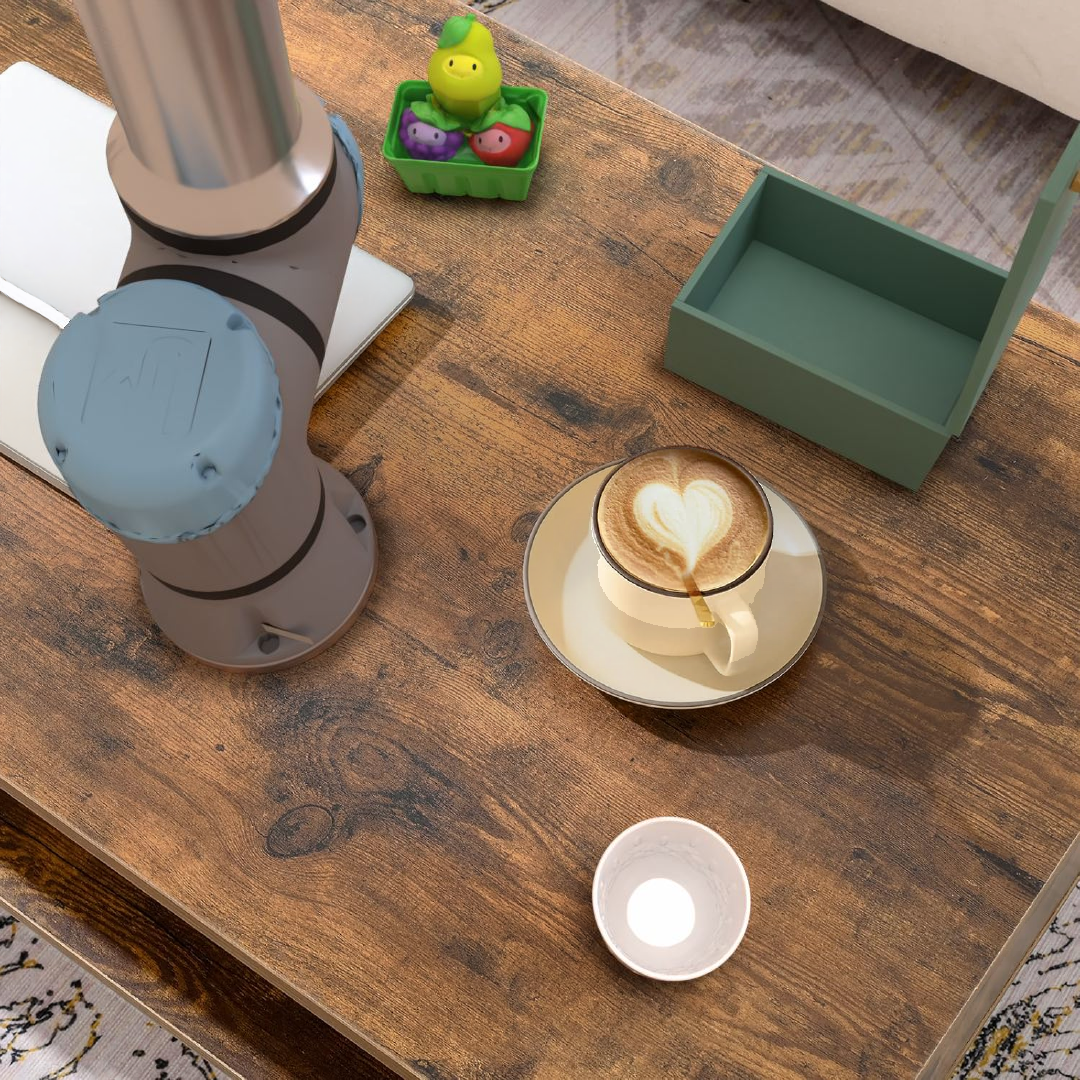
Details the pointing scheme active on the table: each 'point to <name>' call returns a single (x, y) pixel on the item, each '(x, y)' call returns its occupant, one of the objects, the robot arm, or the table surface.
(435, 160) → the fruit basket
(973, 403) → the lid
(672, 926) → the white cup
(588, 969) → the table surface
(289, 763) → the table surface
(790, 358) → the chest
